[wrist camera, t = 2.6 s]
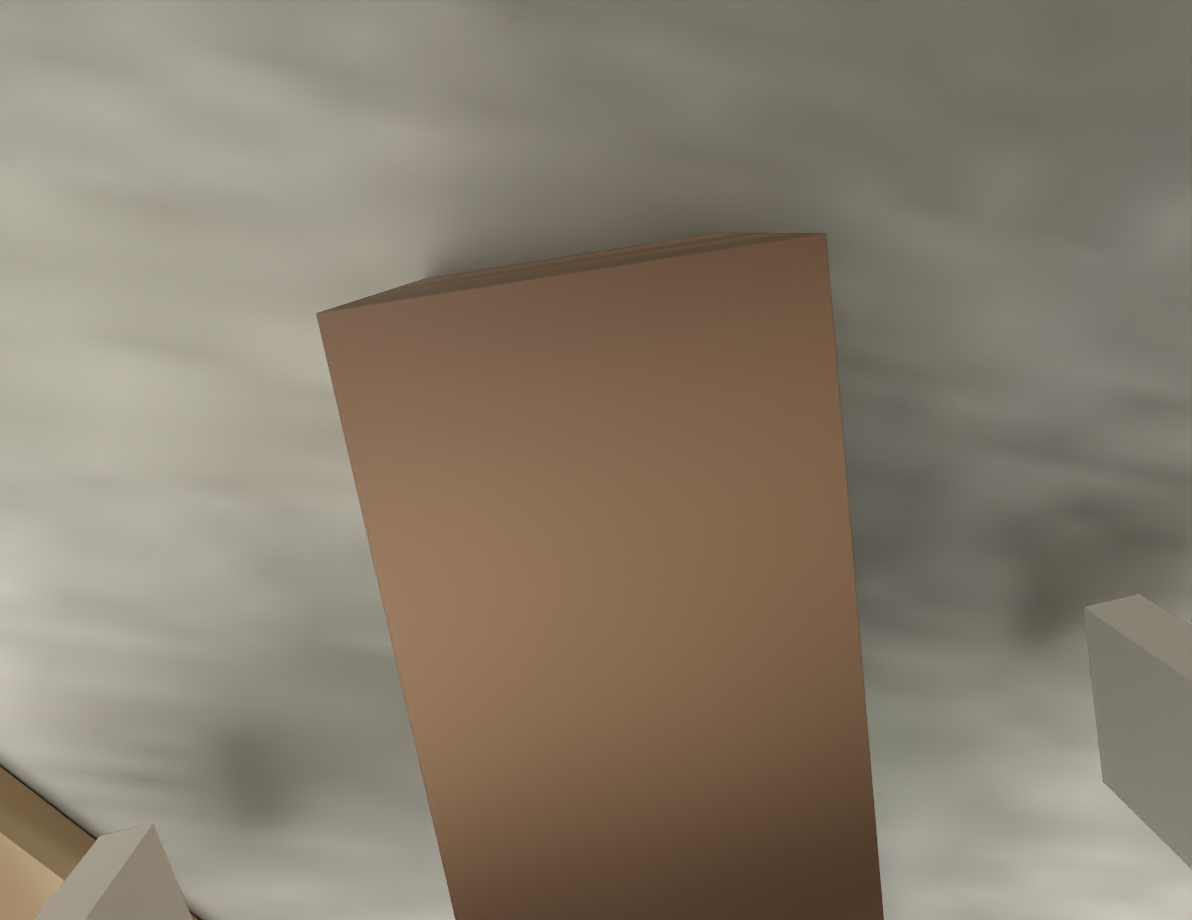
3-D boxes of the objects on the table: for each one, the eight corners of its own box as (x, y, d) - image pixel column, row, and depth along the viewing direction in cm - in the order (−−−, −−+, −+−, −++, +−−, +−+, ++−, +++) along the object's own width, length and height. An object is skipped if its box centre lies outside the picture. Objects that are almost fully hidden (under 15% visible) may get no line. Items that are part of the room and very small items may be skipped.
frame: (421, 279, 14) (309, 314, 8) (719, 232, 14) (832, 232, 8) (566, 1011, 17) (564, 1415, 11) (804, 977, 17) (925, 1364, 11)
